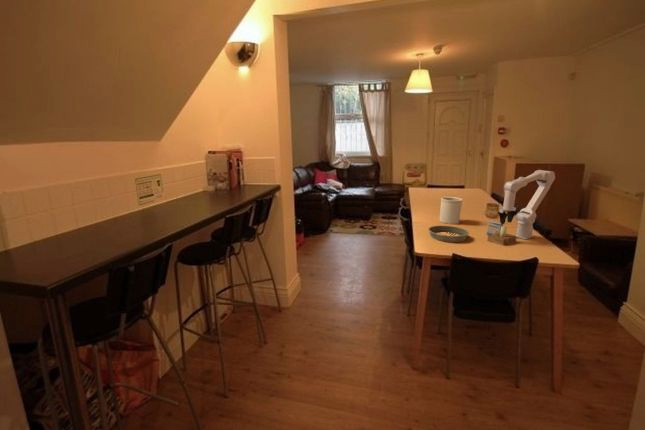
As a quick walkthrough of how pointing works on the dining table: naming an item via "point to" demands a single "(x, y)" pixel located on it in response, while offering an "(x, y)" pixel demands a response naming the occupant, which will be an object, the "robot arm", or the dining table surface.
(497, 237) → the hole block
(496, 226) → the medicine box
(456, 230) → the cake pan
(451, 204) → the utensil holder
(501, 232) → the peg
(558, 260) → the dining table surface
